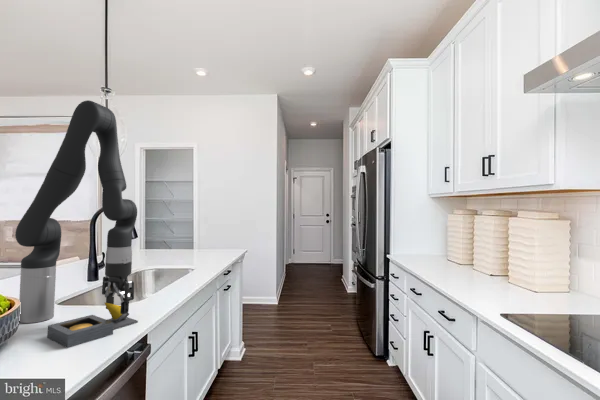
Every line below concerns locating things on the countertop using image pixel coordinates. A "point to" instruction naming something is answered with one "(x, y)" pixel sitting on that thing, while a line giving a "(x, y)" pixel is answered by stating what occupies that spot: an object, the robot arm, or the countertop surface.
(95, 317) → the grey open box
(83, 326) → the button
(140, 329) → the countertop surface
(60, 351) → the countertop surface
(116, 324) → the rest mat
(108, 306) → the ridged yellow cone
